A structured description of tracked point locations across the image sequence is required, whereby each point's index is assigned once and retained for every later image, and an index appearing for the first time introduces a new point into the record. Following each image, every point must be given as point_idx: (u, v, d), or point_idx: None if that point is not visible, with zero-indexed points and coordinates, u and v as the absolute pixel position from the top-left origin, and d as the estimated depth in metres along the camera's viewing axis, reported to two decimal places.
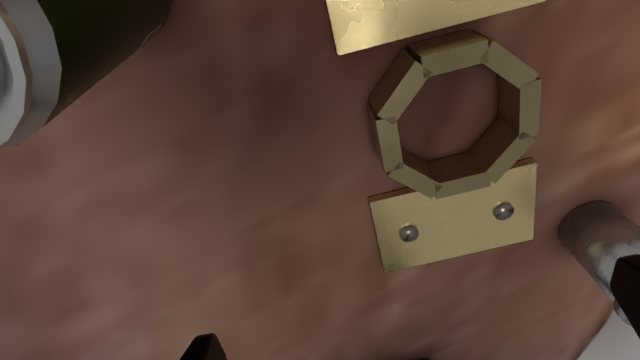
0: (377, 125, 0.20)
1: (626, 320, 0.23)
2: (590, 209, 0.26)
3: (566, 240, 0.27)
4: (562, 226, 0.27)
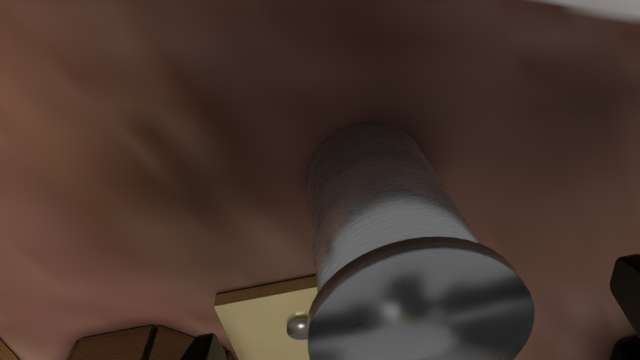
0: None
1: None
2: None
3: None
4: None
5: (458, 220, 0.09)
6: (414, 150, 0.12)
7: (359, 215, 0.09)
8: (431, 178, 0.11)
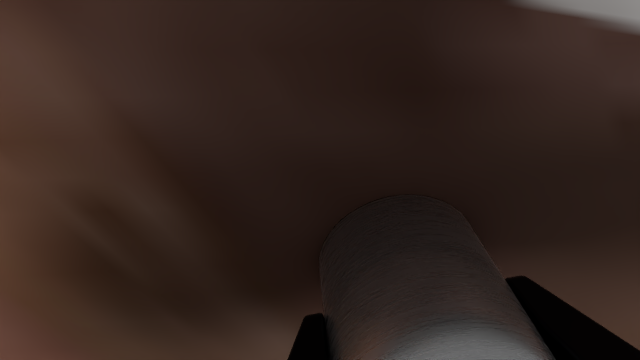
0: None
1: None
2: None
3: None
4: None
5: None
6: (472, 242, 0.08)
7: None
8: (508, 301, 0.07)
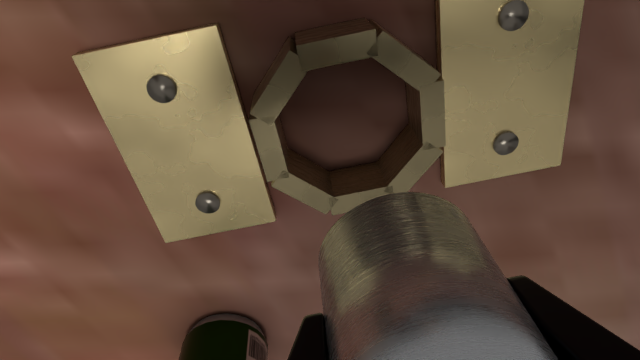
0: (337, 213, 0.19)
1: None
2: None
3: None
4: None
5: None
6: (472, 239, 0.08)
7: None
8: (508, 298, 0.07)
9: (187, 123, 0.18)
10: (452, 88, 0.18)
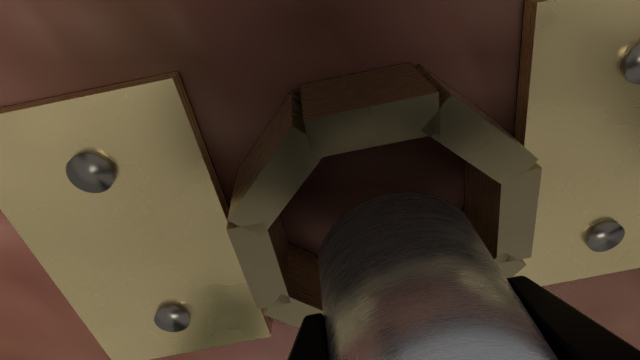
0: None
1: None
2: None
3: None
4: None
5: None
6: (472, 240, 0.08)
7: None
8: (508, 298, 0.07)
9: (135, 218, 0.12)
10: (537, 165, 0.12)
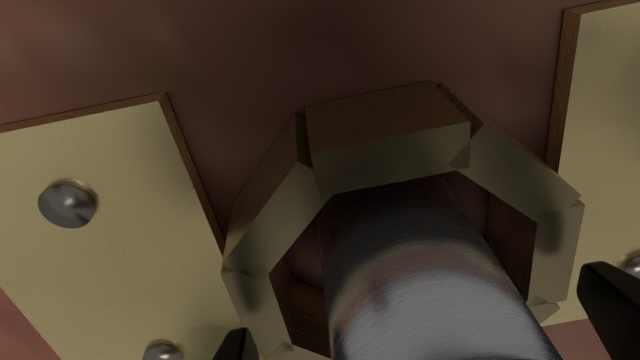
0: None
1: None
2: None
3: None
4: None
5: (522, 311, 0.07)
6: (450, 199, 0.10)
7: (392, 303, 0.07)
8: (477, 242, 0.08)
9: (119, 254, 0.11)
10: None
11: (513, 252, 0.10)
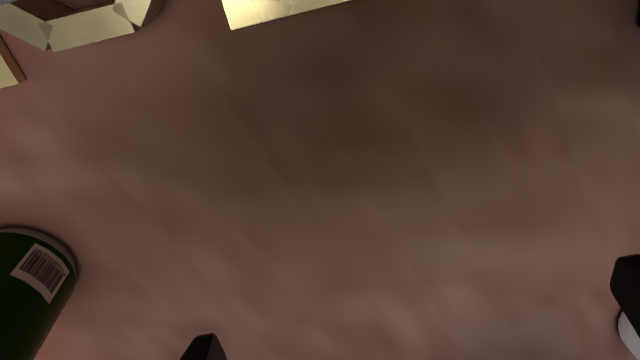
0: (60, 49, 0.14)
1: None
2: None
3: None
4: None
5: None
6: None
7: None
8: None
9: None
10: None
11: None
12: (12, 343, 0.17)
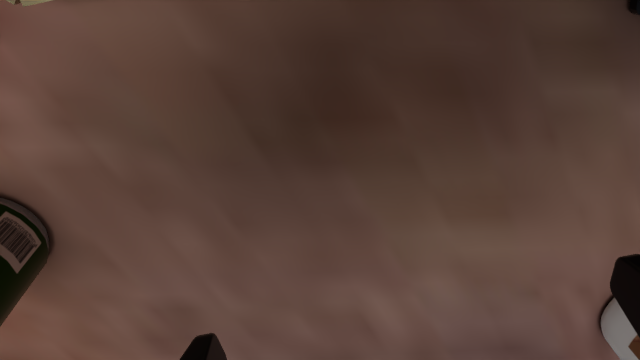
0: (30, 3, 0.14)
1: None
2: None
3: None
4: None
5: None
6: None
7: None
8: None
9: None
10: None
11: None
12: None
